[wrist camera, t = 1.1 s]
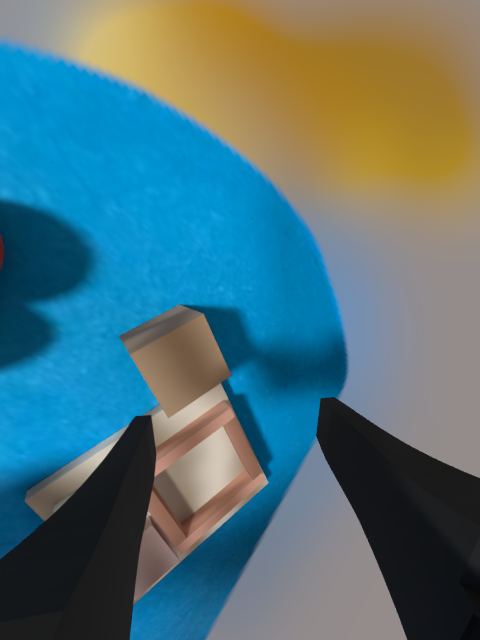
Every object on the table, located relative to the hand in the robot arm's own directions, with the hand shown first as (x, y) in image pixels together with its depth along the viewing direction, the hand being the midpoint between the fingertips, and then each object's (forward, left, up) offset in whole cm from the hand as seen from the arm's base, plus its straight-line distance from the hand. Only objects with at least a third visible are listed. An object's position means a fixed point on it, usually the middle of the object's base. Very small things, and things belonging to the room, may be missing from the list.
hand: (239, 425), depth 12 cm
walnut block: (0, 0, -12) cm, 12 cm away
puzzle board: (-5, -11, -12) cm, 17 cm away
